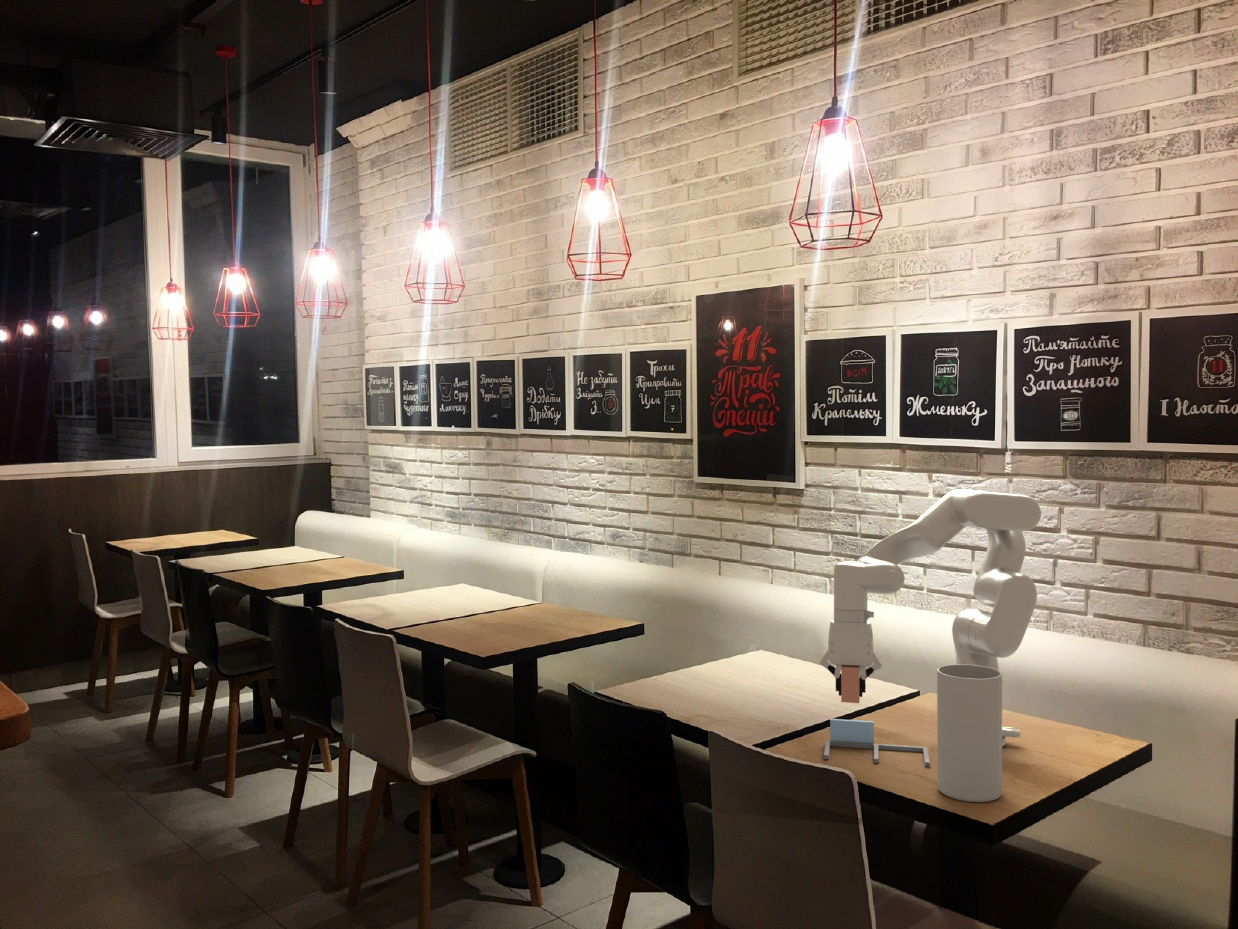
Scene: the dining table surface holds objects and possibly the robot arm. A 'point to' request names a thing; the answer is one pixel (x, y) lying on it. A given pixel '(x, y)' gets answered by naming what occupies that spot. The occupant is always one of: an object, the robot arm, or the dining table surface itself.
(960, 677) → the cylinder vase
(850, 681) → the plug block
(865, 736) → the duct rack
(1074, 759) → the dining table surface
